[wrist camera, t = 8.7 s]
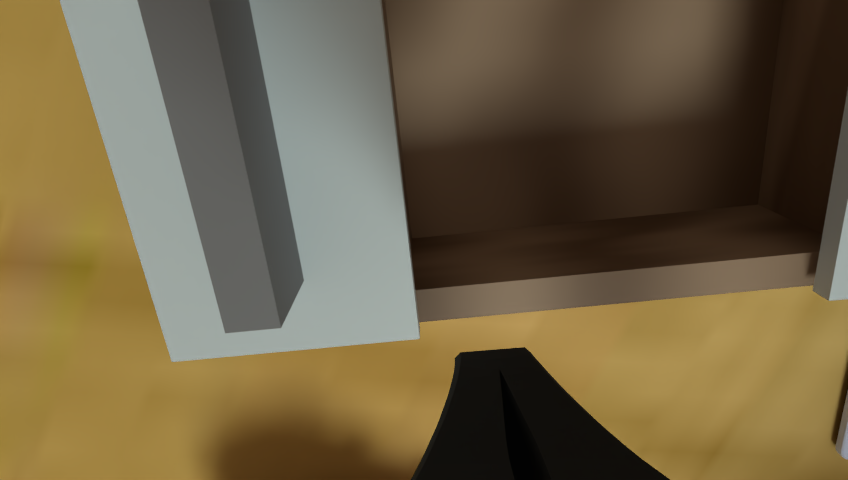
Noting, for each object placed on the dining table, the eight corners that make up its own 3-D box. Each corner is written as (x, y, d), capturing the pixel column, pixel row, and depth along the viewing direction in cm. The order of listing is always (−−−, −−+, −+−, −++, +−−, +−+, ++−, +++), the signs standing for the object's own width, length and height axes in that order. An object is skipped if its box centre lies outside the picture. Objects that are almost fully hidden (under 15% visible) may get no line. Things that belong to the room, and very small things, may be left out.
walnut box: (822, -174, 15) (1004, -273, 10) (768, 221, 19) (882, 278, 15) (338, -119, 15) (303, -191, 11) (388, 258, 20) (379, 326, 15)
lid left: (357, -204, 10) (336, -296, 8) (419, 327, 15) (419, 394, 12) (26, -165, 11) (-116, -241, 8) (181, 349, 15) (125, 421, 12)
